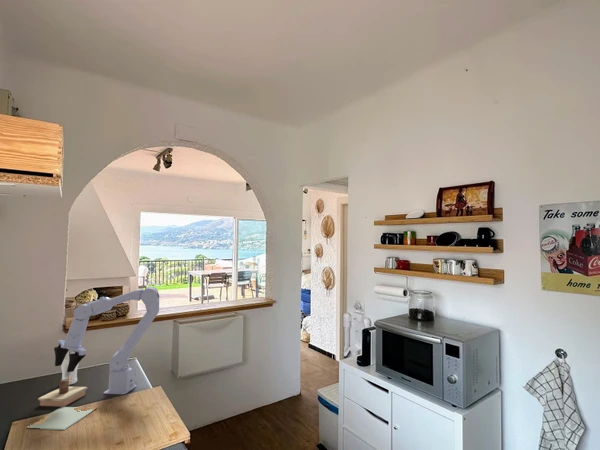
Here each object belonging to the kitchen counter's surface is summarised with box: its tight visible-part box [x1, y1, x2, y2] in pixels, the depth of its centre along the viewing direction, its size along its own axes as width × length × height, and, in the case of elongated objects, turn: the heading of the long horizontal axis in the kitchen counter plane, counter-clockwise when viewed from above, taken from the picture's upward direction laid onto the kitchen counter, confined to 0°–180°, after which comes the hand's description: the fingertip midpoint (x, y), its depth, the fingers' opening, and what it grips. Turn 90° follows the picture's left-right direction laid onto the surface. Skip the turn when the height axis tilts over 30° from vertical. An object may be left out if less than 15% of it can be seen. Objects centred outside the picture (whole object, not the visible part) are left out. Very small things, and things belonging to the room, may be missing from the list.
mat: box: [26, 406, 94, 431], centre depth 110 cm, size 14×14×1 cm
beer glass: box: [60, 350, 80, 386], centre depth 142 cm, size 7×7×15 cm
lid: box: [37, 379, 88, 401], centre depth 125 cm, size 11×11×5 cm
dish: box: [39, 390, 86, 408], centre depth 124 cm, size 10×10×2 cm
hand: (63, 368), depth 126 cm, fingers open, 7 cm apart
